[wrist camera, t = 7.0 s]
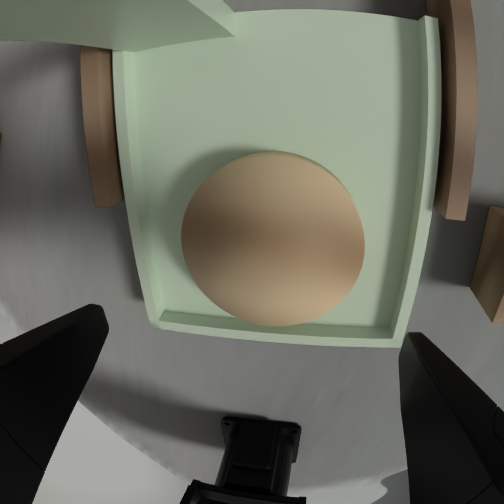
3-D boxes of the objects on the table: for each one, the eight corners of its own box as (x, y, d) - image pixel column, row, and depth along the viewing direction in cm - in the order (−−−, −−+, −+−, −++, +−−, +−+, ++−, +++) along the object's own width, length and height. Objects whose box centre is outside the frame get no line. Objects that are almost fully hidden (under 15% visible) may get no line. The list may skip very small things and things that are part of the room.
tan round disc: (350, 311, 16) (352, 330, 15) (201, 301, 18) (192, 318, 16) (366, 154, 13) (372, 160, 11) (186, 152, 14) (172, 158, 13)
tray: (394, 324, 17) (427, 501, 8) (163, 308, 20) (72, 449, 10) (423, 27, 10) (574, -54, 1) (133, 36, 13) (-56, 12, 3)
